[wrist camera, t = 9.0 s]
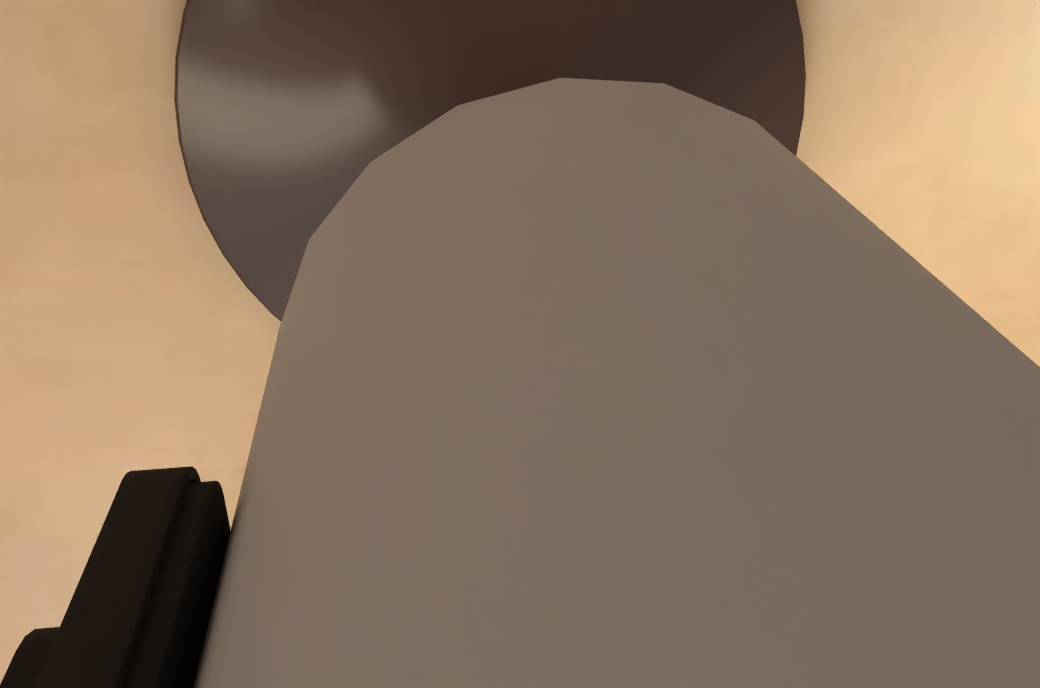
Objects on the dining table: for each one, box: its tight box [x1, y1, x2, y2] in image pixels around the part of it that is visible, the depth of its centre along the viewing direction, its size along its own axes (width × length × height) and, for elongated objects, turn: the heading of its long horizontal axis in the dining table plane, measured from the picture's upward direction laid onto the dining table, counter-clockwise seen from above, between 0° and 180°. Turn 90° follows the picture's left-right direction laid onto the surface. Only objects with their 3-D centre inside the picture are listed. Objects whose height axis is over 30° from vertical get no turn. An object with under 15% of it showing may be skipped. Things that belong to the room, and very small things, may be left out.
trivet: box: [174, 0, 806, 321], centre depth 23 cm, size 14×14×1 cm
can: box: [193, 78, 1040, 688], centre depth 8 cm, size 8×8×12 cm
